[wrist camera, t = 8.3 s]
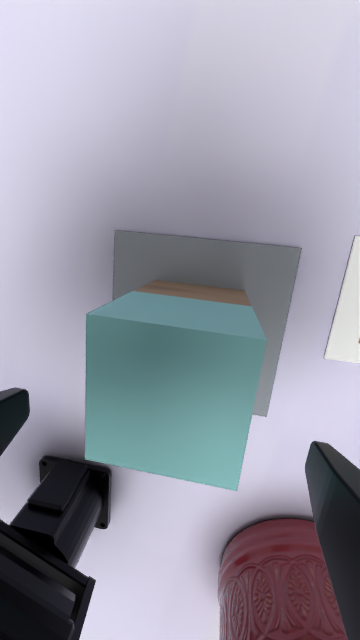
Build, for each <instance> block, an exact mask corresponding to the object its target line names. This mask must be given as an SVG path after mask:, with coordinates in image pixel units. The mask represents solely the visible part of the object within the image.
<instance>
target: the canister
mask: <svg viewBox="0 0 360 640" xmlns="http://www.w3.org/2000/svg"><path fill="white" fill-rule="evenodd" d="M218 601H219V606H220V640H348V639H347V636H346V632H345V629H344V625H343V622H342V619H341V615H340V612H339V608H338V605H337V601H336V598H335V594H334V591H333V587H332V584H331V580H330V577H329V574H328V570H327V567H326V563H325V560H324V556H323V553H322V549H321V546H320V542H319V539H318V535H317V531H316V527H315V522H312V521H307V520H300V519H275V520H269V521H264V522H261V523H258V524H255V525H253V526H250V527H248V528H246V529H245V530H243V531H241V532H240V533H239V534H237V535H236V536H235V537H234V538H233V539H232V540H231V541H230V543H229V544H228V546H227V547H226V549H225V551H224V554H223V557H222V564H221V568H220V571H219V577H218Z"/></svg>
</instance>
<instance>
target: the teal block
mask: <svg viewBox="0 0 360 640" xmlns="http://www.w3.org/2000/svg"><path fill="white" fill-rule="evenodd" d="M266 342H267V339H266V337H265V335H264V332H263V330H262V328H261V326H260V323H259V321H258V319H257V317H256V315H255V312H254V310H253V308H252V306H245V305H237V304H229V303H221V302H214V301H206V300H198V299H191V298H183V297H175V296H168V295H160V294H152V293H144V292H137V291H132V292H130V293H128V294H126V295H123V296H121V297H119V298H117V299H115V300H113V301H111V302H109V303H107V304H105V305H103V306H101V307H99V308H97V309H95V310H93V311H91V312H89V313H87V314H86V395H85V459H86V460H91V461H96V462H100V463H105V464H110V465H115V466H119V467H124V468H129V469H134V470H139V471H143V472H148V473H153V474H158V475H162V476H167V477H172V478H177V479H182V480H186V481H191V482H196V483H201V484H205V485H210V486H215V487H220V488H225V489H229V490H234V491H237V488H238V483H239V478H240V473H241V468H242V463H243V458H244V453H245V448H246V443H247V438H248V433H249V428H250V423H251V418H252V413H253V408H254V402H255V397H256V392H257V387H258V382H259V377H260V372H261V367H262V362H263V357H264V352H265V347H266Z"/></svg>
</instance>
